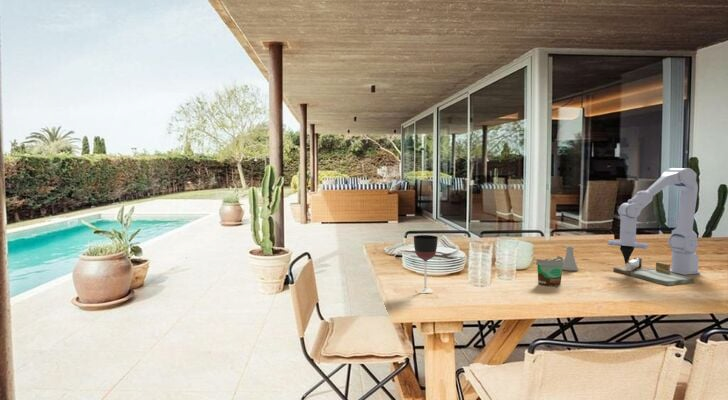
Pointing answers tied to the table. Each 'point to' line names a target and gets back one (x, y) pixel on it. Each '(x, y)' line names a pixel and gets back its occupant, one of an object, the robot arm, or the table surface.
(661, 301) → the table surface
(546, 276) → the food container
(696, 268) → the robot arm
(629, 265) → the lock bar
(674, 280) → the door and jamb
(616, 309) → the table surface
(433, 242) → the wineglass
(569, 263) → the flask
